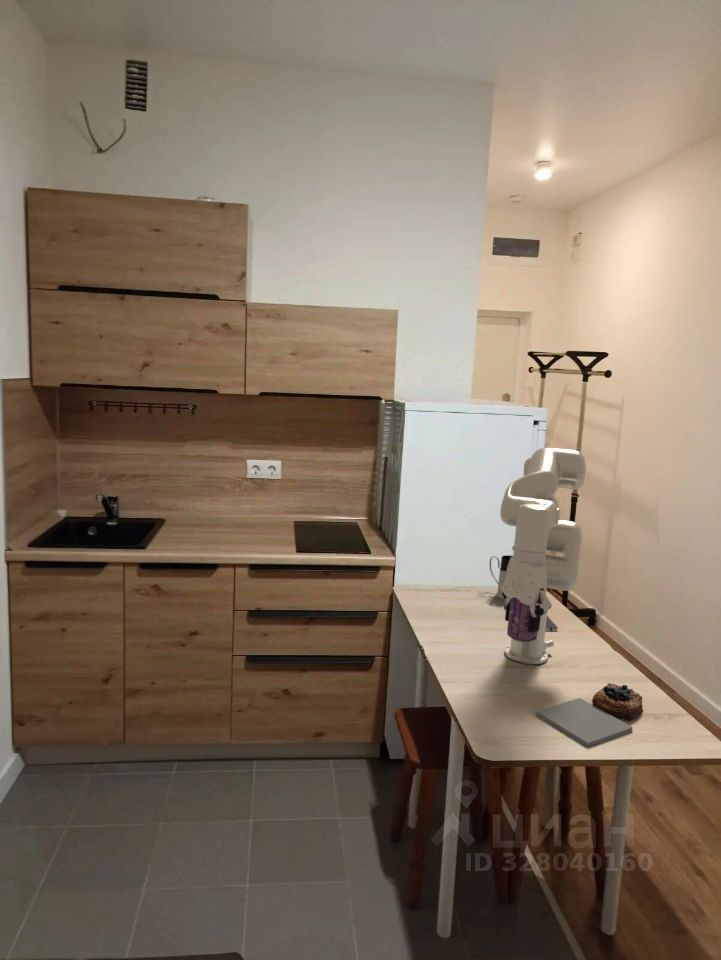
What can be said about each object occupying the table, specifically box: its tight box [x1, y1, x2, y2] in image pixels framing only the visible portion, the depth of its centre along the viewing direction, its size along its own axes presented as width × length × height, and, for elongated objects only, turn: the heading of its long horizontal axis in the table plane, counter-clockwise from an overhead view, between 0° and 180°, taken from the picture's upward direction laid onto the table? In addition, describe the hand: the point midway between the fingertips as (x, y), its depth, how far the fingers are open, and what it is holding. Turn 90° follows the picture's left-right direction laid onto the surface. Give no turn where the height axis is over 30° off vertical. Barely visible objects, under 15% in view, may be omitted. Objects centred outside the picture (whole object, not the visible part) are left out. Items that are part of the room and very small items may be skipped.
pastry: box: [591, 682, 644, 722], centre depth 174 cm, size 11×12×6 cm
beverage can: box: [506, 597, 538, 642], centre depth 166 cm, size 7×7×12 cm
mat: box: [535, 697, 634, 748], centre depth 166 cm, size 16×16×1 cm
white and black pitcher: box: [489, 554, 513, 600], centre depth 258 cm, size 9×14×15 cm, turn 41°
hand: (521, 625), depth 166 cm, fingers closed on beverage can, 7 cm apart
